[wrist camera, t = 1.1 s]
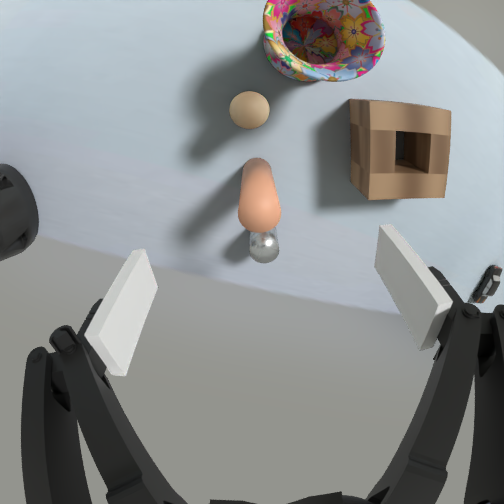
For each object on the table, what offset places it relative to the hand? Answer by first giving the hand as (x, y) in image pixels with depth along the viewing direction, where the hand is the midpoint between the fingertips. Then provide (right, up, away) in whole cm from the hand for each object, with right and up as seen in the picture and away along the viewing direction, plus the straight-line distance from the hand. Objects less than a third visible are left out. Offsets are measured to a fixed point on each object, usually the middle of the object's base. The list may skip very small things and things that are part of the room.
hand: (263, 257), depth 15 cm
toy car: (+45, -4, +25) cm, 51 cm away
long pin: (0, +9, +16) cm, 19 cm away
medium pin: (-1, +16, +12) cm, 20 cm away
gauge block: (+16, +13, +14) cm, 25 cm away
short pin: (+1, +3, +20) cm, 20 cm away
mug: (+5, +23, +8) cm, 25 cm away
